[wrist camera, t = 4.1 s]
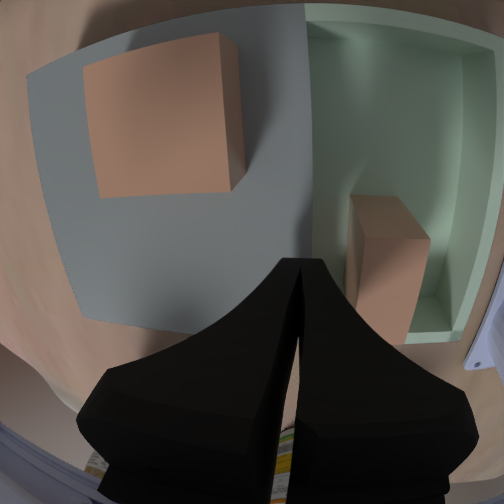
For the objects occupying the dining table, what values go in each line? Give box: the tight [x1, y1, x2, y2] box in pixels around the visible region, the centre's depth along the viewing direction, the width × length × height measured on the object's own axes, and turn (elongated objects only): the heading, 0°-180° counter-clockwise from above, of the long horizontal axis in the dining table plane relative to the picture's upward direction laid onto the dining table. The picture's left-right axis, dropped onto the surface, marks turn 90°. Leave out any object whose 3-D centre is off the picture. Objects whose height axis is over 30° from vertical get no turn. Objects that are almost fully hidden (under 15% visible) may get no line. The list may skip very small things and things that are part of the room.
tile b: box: [83, 32, 246, 199], centre depth 8 cm, size 4×4×2 cm
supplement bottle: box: [270, 428, 294, 504], centre depth 17 cm, size 5×5×10 cm
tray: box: [304, 3, 504, 344], centre depth 10 cm, size 7×12×3 cm, turn 4°
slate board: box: [27, 3, 313, 343], centre depth 12 cm, size 11×12×3 cm
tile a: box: [343, 194, 431, 345], centre depth 11 cm, size 4×4×2 cm
